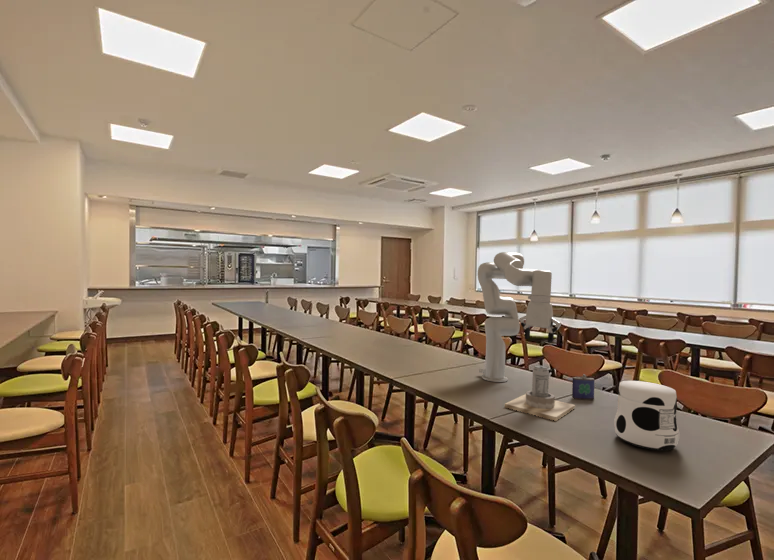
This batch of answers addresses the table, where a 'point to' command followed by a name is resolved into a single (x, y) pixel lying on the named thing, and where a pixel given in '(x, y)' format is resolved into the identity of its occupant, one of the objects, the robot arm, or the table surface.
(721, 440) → the table surface
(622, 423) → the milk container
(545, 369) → the energy drink can
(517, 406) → the collar board
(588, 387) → the flask
